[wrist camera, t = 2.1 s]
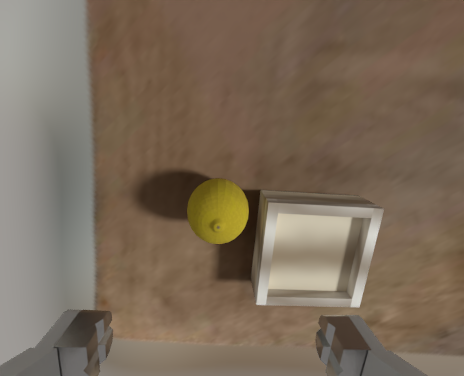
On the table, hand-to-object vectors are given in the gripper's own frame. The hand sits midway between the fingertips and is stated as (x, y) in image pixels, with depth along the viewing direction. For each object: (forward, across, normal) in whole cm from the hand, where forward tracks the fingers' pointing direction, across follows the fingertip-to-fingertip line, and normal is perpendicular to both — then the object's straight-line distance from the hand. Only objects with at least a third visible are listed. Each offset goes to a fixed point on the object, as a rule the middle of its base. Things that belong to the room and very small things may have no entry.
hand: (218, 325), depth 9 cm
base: (+17, -10, +4) cm, 20 cm away
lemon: (+17, 0, 0) cm, 17 cm away
